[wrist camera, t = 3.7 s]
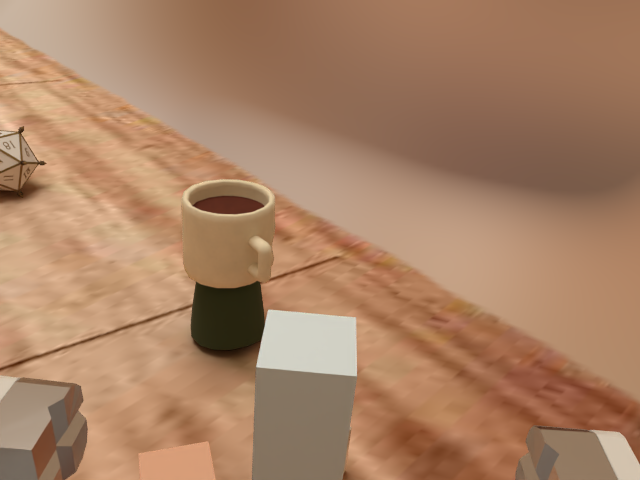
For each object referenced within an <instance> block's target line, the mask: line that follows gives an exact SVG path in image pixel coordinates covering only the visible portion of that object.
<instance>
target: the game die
mask: <svg viewBox="0 0 640 480" xmlns="http://www.w3.org/2000/svg"><path fill="white" fill-rule="evenodd" d="M18 130H19V131H18V132H14V131H1V130H0V190H2V191H15V192H18V195H19V196H20V197H22V198H23V194H22V192H21V191H20V190H21V188H22V187H23V186H24V184H25V183H26V181H27V180H28V178H29V177H30V176H31V174H32V173H33V171H34V170H35V168H36V167H37V166H38V164H40V165H45V164H47V163H45V162H44V161H40V162H39V161H38V160H37V158H36V157H35V155H34V154H33V152H32V150H31V149H30V147H29V146H28V144H27V142H26V141H25V139H24V138H23V136H22V134H21V133H22V132H23V131H24V126H23V127H21V128H20V129H18Z"/></svg>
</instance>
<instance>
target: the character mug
mask: <svg viewBox="0 0 640 480" xmlns="http://www.w3.org/2000/svg"><path fill="white" fill-rule="evenodd" d="M181 209H182V239H183V264H184V268H185V271H186V273H187V274H188V276H189V278H191V279H192V280H194V281H196V285H195V292H194V299H193V306H192V317H191V335H192V337H193V339H194V340H195V341H196V342H197V343H198V344H199V345H200V346H203V347H207V348H210V349H213V350H233V349H237V348H241V347H246V346H249V345H251V344H254V343H256V342H258V341H260V340H261V338H262V336H263V332H264V327H265V323H264V309H263V301H262V293H261V285H260V282H263V283H267V282H268V281H269V280H270V277H271V266H272V265H273V261H274V256H273V251H272V242H273V238H274V232H275V195H274V194H273V192H272V191H271V190H270V189H268V188H267V187H265V186H263V185H260V184H257V183H254V182H248V181H242V180H227V179H221V180H212V181H205V182H202V183H198V184H195V185H192V186H191V187H190V188H188V189H187V190H185V191H184V193H183V196H182V203H181Z"/></svg>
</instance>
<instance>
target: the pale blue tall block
mask: <svg viewBox="0 0 640 480" xmlns="http://www.w3.org/2000/svg"><path fill="white" fill-rule="evenodd" d="M356 380H357V350H356V317H345V316H334V315H323V314H312V313H301V312H289V311H278V310H268V313H267V318H266V322H265V327H264V332H263V337H262V341H261V346H260V351H259V355H258V360H257V365H256V380H255V408H254V436H253V463H252V480H343V473H344V466H345V459H346V452H347V444H348V437H349V430H350V423H351V416H352V408H353V401H354V394H355V387H356Z"/></svg>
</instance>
